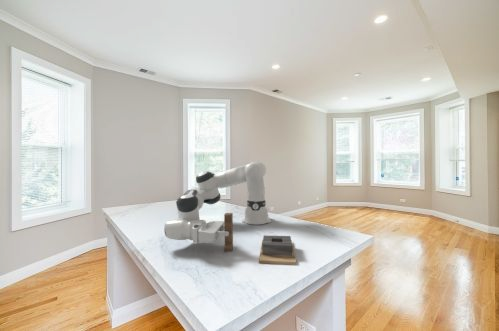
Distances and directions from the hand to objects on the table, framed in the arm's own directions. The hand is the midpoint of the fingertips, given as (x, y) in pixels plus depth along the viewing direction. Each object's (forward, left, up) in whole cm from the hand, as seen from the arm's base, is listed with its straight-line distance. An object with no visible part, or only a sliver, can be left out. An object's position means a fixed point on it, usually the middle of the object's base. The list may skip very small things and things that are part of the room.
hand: (230, 230), depth 101 cm
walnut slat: (0, -1, -9) cm, 9 cm away
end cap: (0, +20, -9) cm, 22 cm away
